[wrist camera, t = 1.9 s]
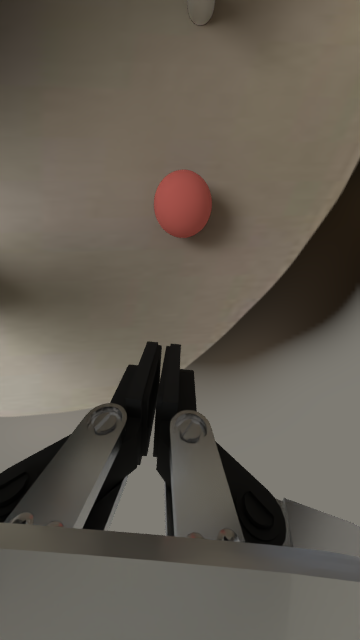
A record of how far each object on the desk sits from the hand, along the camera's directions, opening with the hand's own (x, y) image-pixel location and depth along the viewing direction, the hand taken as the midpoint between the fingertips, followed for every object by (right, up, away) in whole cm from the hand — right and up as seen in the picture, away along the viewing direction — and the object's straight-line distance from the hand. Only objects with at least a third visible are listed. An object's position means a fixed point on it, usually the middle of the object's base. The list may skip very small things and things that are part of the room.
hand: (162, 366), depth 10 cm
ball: (+1, +14, +9) cm, 17 cm away
